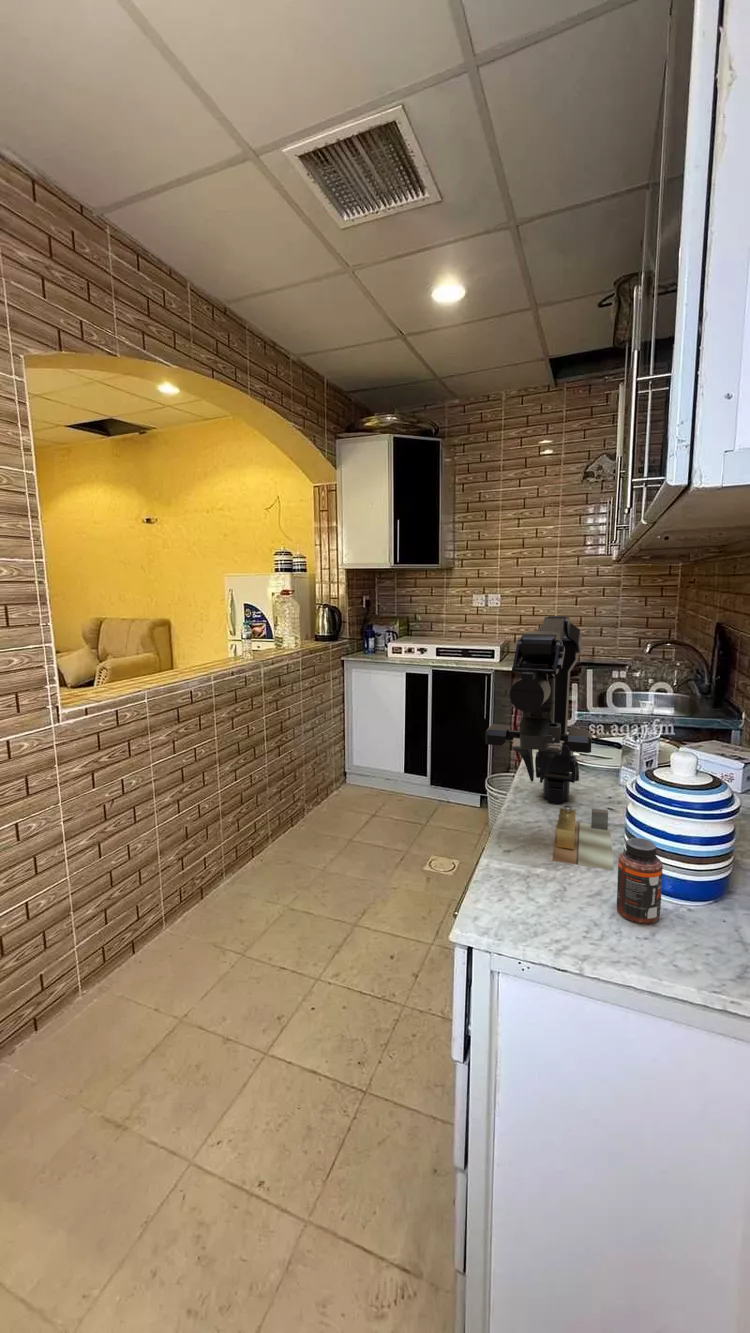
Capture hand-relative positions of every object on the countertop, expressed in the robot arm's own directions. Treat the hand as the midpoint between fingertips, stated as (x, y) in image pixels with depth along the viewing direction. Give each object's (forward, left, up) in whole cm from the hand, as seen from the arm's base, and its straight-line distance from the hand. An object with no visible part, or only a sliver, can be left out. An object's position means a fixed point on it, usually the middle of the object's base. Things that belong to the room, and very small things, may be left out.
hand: (536, 781), depth 100 cm
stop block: (-10, +11, -12) cm, 19 cm away
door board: (-2, +8, -13) cm, 16 cm away
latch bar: (-3, +5, -11) cm, 13 cm away
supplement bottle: (+17, +16, -13) cm, 27 cm away
